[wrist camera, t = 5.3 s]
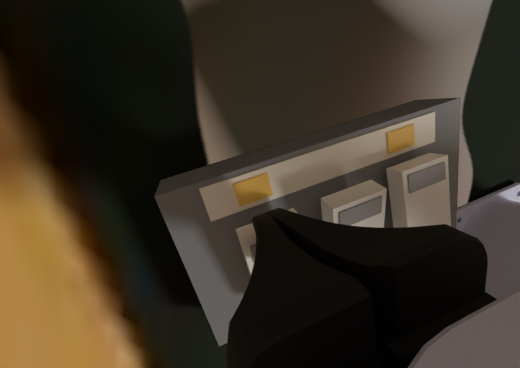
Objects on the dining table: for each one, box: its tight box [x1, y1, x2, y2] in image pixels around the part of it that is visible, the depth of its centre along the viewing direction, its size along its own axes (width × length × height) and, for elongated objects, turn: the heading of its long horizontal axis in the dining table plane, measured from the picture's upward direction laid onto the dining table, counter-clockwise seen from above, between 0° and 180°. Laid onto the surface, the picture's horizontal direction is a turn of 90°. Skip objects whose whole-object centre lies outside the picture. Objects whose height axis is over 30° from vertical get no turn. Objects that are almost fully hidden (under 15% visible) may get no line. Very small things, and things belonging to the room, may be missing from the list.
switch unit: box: [154, 98, 460, 346], centre depth 16 cm, size 10×18×3 cm, turn 105°
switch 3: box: [386, 153, 451, 228], centre depth 14 cm, size 5×3×1 cm, turn 15°
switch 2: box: [321, 180, 387, 228], centre depth 13 cm, size 5×3×1 cm, turn 15°
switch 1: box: [236, 208, 298, 276], centre depth 13 cm, size 5×3×1 cm, turn 15°
